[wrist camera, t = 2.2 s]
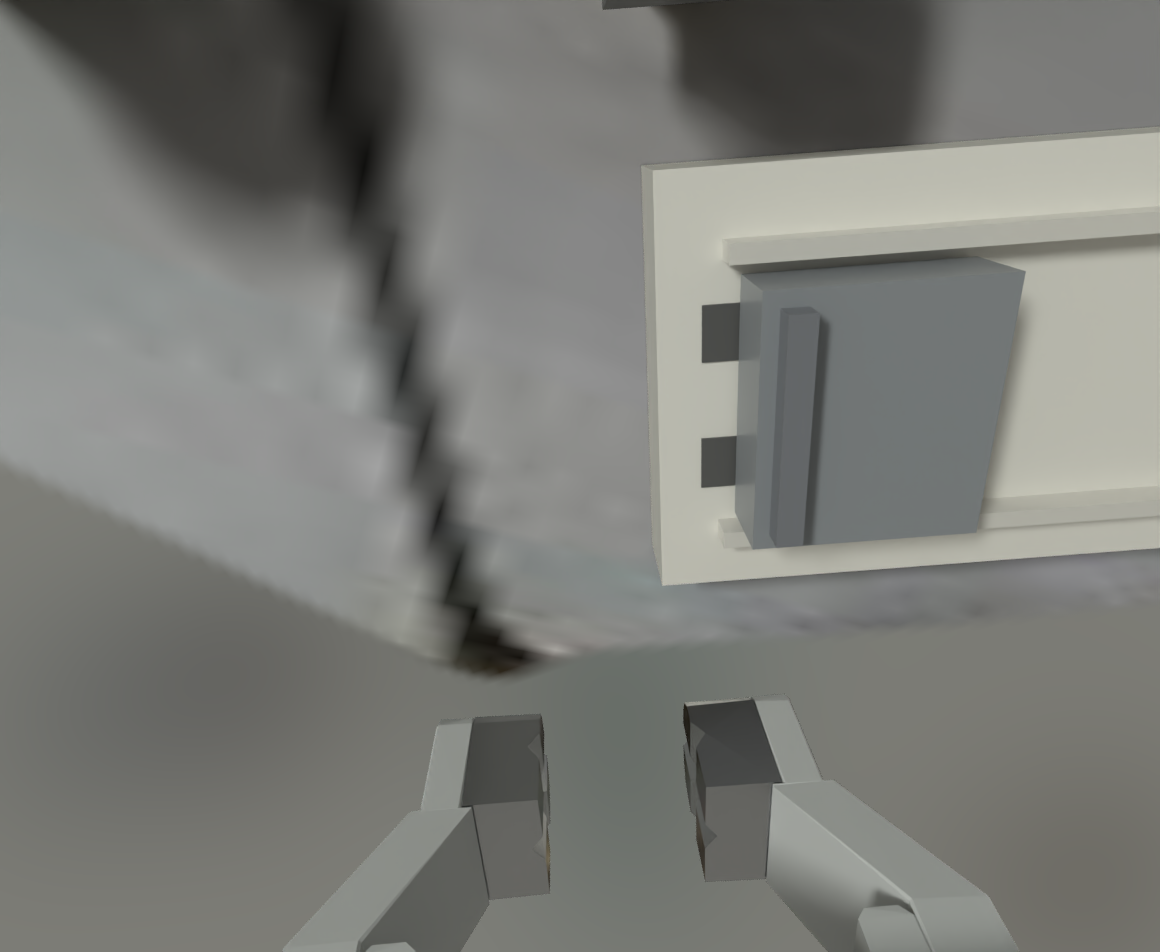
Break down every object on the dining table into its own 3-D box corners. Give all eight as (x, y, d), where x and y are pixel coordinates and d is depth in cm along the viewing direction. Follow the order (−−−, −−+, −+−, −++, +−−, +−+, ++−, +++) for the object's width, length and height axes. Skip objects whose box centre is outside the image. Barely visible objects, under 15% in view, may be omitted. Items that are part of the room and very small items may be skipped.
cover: (976, 256, 22) (1044, 276, 19) (938, 496, 25) (989, 545, 22) (740, 274, 22) (770, 297, 19) (734, 511, 25) (759, 563, 22)
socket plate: (1266, 118, 23) (1395, 117, 20) (1149, 505, 29) (1232, 558, 26) (641, 165, 23) (657, 172, 20) (652, 543, 29) (666, 601, 26)
